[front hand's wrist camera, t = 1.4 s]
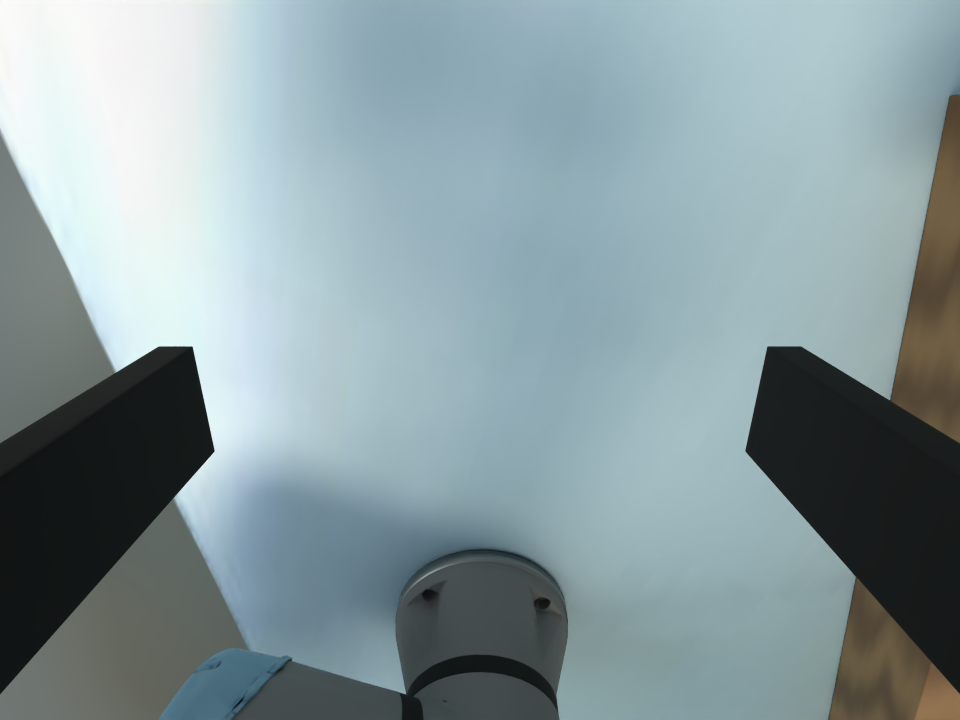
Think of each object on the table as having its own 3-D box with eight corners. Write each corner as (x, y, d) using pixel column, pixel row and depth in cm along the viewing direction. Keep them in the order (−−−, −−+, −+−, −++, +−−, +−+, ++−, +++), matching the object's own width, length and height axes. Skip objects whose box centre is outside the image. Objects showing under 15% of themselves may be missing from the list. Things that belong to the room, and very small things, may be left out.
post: (852, 824, 61) (906, 925, 53) (807, 827, 61) (854, 927, 53) (1037, 84, 31) (1217, 66, 24) (949, 95, 32) (1099, 82, 24)
